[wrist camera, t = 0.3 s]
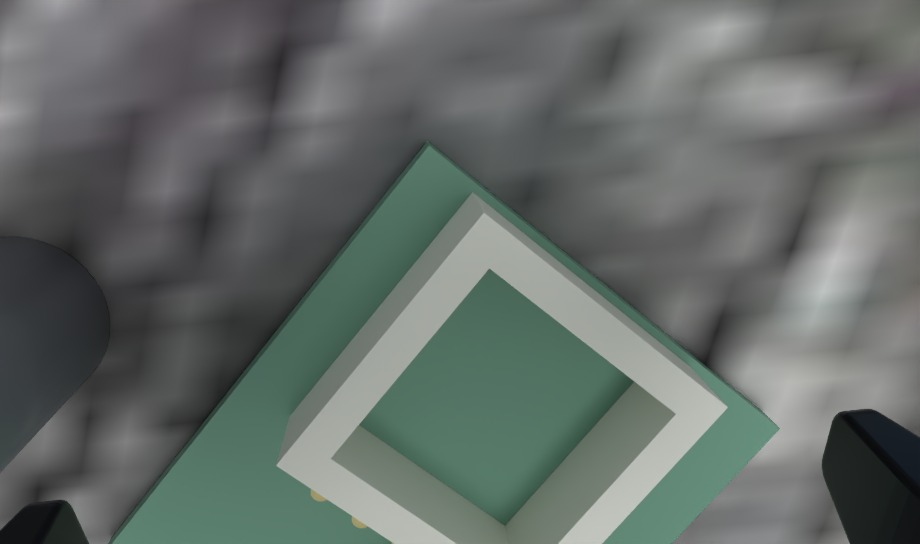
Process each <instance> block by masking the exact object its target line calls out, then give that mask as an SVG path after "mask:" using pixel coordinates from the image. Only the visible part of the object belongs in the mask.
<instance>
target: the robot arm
mask: <svg viewBox="0 0 920 544" xmlns="http://www.w3.org/2000/svg"><path fill="white" fill-rule="evenodd" d="M822 471H823V476H824V479H825V482H826V485H827V487H828V490H829V492H830V495H831V497H832V500H833V502H834V505H835V507H836V510H837V512H838V515H839V518H840V520H841V523H842V525H843V528H844V530H845V533H846V535H847V538H848V540H849V543H850V544H920V437H918V436H917V435H915V434H914V433H912V432H910V431H909V430H907V429H905V428H904V427H902V426H900V425H899V424H897V423H896V422H894V421H892V420H891V419H889V418H887V417H886V416H884V415H882V414H881V413H879V412H877V411H875V410H872V409H860V410H851V411H842V412H839V413H838V414H837V415H836V416H835V417H834V419H833V421H832V425H831V428H830V432H829V436H828V440H827V443H826V447H825V451H824V454H823V459H822ZM0 544H89V543H88V540H87V538H86V536H85V534H84V532H83V530H82V527H81V525H80V523H79V521H78V519H77V517H76V515H75V512H74V510H73V508H72V507H71V505H70V504H69V503H68V502H67V501H65V500H54V501H45V502H37V503H32V504H29V505H27V506H26V507H24V508H23V509H22V510H21V511H20V512H19V513H18V514H17V515H15V516H14V517H13V518H12V519H11V520H10V521H9V522H8V523H7V524H6V525H5V526H4V527H3V528H2V529H1V530H0Z"/></svg>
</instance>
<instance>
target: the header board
mask: <svg viewBox="0 0 920 544" xmlns="http://www.w3.org/2000/svg"><path fill="white" fill-rule="evenodd" d="M779 429H780V428H779V427H778V426H777V425H776V424H775V423H774V422H773V421H772V420H771V419H770V418H769V417H768V416H767V415H766V414H764V413H763V412H762V411H761V410H760V409H759V408H757V407H756V406H755V405H754V404H752V403H751V402H750V401H749V400H747V399H746V398H745V397H744V396H742V395H741V394H740V393H739V392H738V391H736V390H735V389H734V388H733V387H731V386H730V385H729V384H728V383H726V382H725V381H724V380H723V379H721V378H720V377H719V376H718V375H716V374H715V373H714V372H713V371H711V370H710V369H709V368H708V367H707V366H705V365H704V364H703V363H702V362H700V361H699V360H698V359H697V358H695V357H694V356H693V355H692V354H690V353H689V352H688V351H687V350H685V349H684V348H683V347H682V346H681V345H679V344H678V343H677V342H676V341H674V340H673V339H672V338H671V337H669V336H668V335H667V334H666V333H664V332H663V331H662V330H661V329H659V328H658V327H657V326H656V325H655V324H653V323H652V322H651V321H650V320H648V319H647V318H646V317H645V316H643V315H642V314H641V313H640V312H638V311H637V310H636V309H635V308H633V307H632V306H631V305H630V304H629V303H627V302H626V301H625V300H624V299H622V298H621V297H620V296H619V295H617V294H616V293H615V292H614V291H612V290H611V289H610V288H609V287H607V286H606V285H605V284H604V283H603V282H601V281H600V280H599V279H598V278H596V277H595V276H594V275H593V274H591V273H590V272H589V271H588V270H586V269H585V268H584V267H583V266H581V265H580V264H579V263H578V262H577V261H575V260H574V259H573V258H572V257H570V256H569V255H568V254H567V253H565V252H564V251H563V250H562V249H560V248H559V247H558V246H557V245H555V244H554V243H553V242H552V241H551V240H549V239H548V238H547V237H546V236H544V235H543V234H542V233H541V232H539V231H538V230H537V229H536V228H534V227H533V226H532V225H531V224H529V223H528V222H527V221H526V220H525V219H523V218H522V217H521V216H520V215H518V214H517V213H516V212H515V211H513V210H512V209H511V208H510V207H508V206H507V205H506V204H505V203H503V202H502V201H501V200H500V199H498V198H497V197H496V196H495V195H494V194H492V193H491V192H490V191H489V190H487V189H486V188H485V187H484V186H482V185H481V184H480V183H479V182H477V181H476V180H475V179H474V178H472V177H471V176H470V175H469V174H468V173H466V172H465V171H464V170H463V169H461V168H460V167H459V166H458V165H456V164H455V163H454V162H453V161H451V160H450V159H449V158H448V157H446V156H445V155H444V154H443V153H442V152H440V151H439V150H438V149H437V148H435V147H434V146H433V145H432V144H430V143H429V142H428V141H427V142H426V143H425V144H424V146H423V147H422V148H421V150H420V151H419V152H418V153H417V155H416V156H415V157H414V158H413V160H412V161H411V162H410V163H409V165H408V166H407V167H406V168H405V170H404V171H403V172H402V173H401V175H400V176H399V177H398V178H397V180H396V181H395V182H394V183H393V185H392V186H391V187H390V188H389V190H388V191H387V192H386V193H385V195H384V196H383V197H382V199H381V200H380V201H379V202H378V204H377V205H376V206H375V207H374V209H373V210H372V211H371V212H370V214H369V215H368V216H367V217H366V219H365V220H364V221H363V222H362V224H361V225H360V226H359V227H358V229H357V230H356V231H355V232H354V234H353V235H352V236H351V237H350V239H349V240H348V241H347V243H346V244H345V245H344V246H343V248H342V249H341V250H340V251H339V253H338V254H337V255H336V256H335V258H334V259H333V260H332V261H331V263H330V264H329V265H328V266H327V268H326V269H325V270H324V271H323V273H322V274H321V275H320V276H319V278H318V279H317V280H316V281H315V283H314V284H313V285H312V287H311V288H310V289H309V290H308V292H307V293H306V294H305V295H304V297H303V298H302V299H301V300H300V302H299V303H298V304H297V305H296V307H295V308H294V309H293V310H292V312H291V313H290V314H289V315H288V317H287V318H286V319H285V320H284V322H283V323H282V324H281V325H280V327H279V328H278V329H277V330H276V332H275V333H274V334H273V336H272V337H271V338H270V339H269V341H268V342H267V343H266V344H265V346H264V347H263V348H262V349H261V351H260V352H259V353H258V354H257V356H256V357H255V358H254V359H253V361H252V362H251V363H250V364H249V366H248V367H247V368H246V369H245V371H244V372H243V373H242V374H241V376H240V377H239V378H238V380H237V381H236V382H235V383H234V385H233V386H232V387H231V388H230V390H229V391H228V392H227V393H226V395H225V396H224V397H223V398H222V400H221V401H220V402H219V403H218V405H217V406H216V407H215V408H214V410H213V411H212V412H211V413H210V415H209V416H208V417H207V418H206V420H205V421H204V422H203V423H202V425H201V426H200V427H199V429H198V430H197V431H196V432H195V434H194V435H193V436H192V437H191V439H190V440H189V441H188V442H187V444H186V445H185V446H184V447H183V449H182V450H181V451H180V452H179V454H178V455H177V456H176V457H175V459H174V460H173V461H172V462H171V464H170V465H169V466H168V467H167V469H166V470H165V471H164V473H163V474H162V475H161V476H160V478H159V479H158V480H157V481H156V483H155V484H154V485H153V486H152V488H151V489H150V490H149V491H148V493H147V494H146V495H145V496H144V498H143V499H142V500H141V501H140V503H139V504H138V505H137V506H136V508H135V509H134V510H133V511H132V513H131V514H130V515H129V517H128V518H127V519H126V520H125V522H124V523H123V524H122V525H121V527H120V528H119V529H118V530H117V532H116V533H115V534H114V535H113V537H112V538H111V540H110V542H109V543H108V544H672V543H673V542H674V540H675V539H676V538H677V537H678V536H679V535H680V534H681V533H682V532H683V531H684V530H685V529H686V528H687V527H688V526H689V525H690V523H691V522H692V521H693V520H694V519H695V518H696V517H697V516H698V515H699V514H700V513H701V512H702V511H703V510H704V509H705V508H706V506H707V505H708V504H709V503H710V502H711V501H712V500H713V499H714V498H715V497H716V496H717V495H718V494H719V493H720V492H721V491H722V490H723V488H724V487H725V486H726V485H727V484H728V483H729V482H730V481H731V480H732V479H733V478H734V477H735V476H736V475H737V474H738V473H739V471H740V470H741V469H742V468H743V467H744V466H745V465H746V464H747V463H748V462H749V461H750V460H751V459H752V458H753V457H754V456H755V454H756V453H757V452H758V451H759V450H760V449H761V448H762V447H763V446H764V445H765V444H766V443H767V442H768V441H769V440H770V439H771V438H772V436H773V435H774V434H775V433H776V432H777V431H778V430H779Z"/></svg>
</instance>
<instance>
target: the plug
mask: <svg viewBox="0 0 920 544" xmlns="http://www.w3.org/2000/svg"><path fill="white" fill-rule="evenodd" d="M109 335H110V319H109V312H108V308H107V304H106V301H105V298H104V296H103V293H102V291H101V290H100V288H99V286H98V284H97V283H96V281H95V280H94V278H93V277H92V276H91V274H90V273H89V272H88V271H87V270H86V269H85V268H84V267H83V266H82V265H81V264H80V263H79V262H78V261H76V260H75V259H74V258H73V257H71V256H70V255H68V254H67V253H65V252H64V251H62V250H60V249H58V248H56V247H54V246H52V245H50V244H47V243H44V242H41V241H38V240H34V239H29V238H22V237H0V472H1V471H2V470H3V469H4V468H5V467H6V466H7V465H8V464H9V463H10V462H11V461H12V459H13V458H14V457H15V456H16V455H17V454H18V453H19V452H20V451H21V450H22V449H23V448H24V446H25V445H26V444H27V443H28V442H29V441H30V440H31V439H32V438H33V437H34V436H35V435H36V433H37V432H38V431H39V430H40V429H41V428H42V427H43V426H44V425H45V424H46V423H47V422H48V421H49V419H50V418H51V417H52V416H53V415H54V414H55V413H56V412H57V411H58V410H59V409H60V408H61V406H62V405H63V404H64V403H65V402H66V401H67V400H68V399H69V398H70V397H71V396H72V395H73V393H74V392H75V391H76V390H77V389H78V388H79V387H80V386H81V385H82V384H83V383H84V382H85V381H86V379H87V378H88V377H89V376H90V375H91V374H92V373H93V372H94V371H95V369H96V368H97V366H98V365H99V364H100V362H101V360H102V358H103V356H104V354H105V351H106V348H107V345H108V341H109Z"/></svg>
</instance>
